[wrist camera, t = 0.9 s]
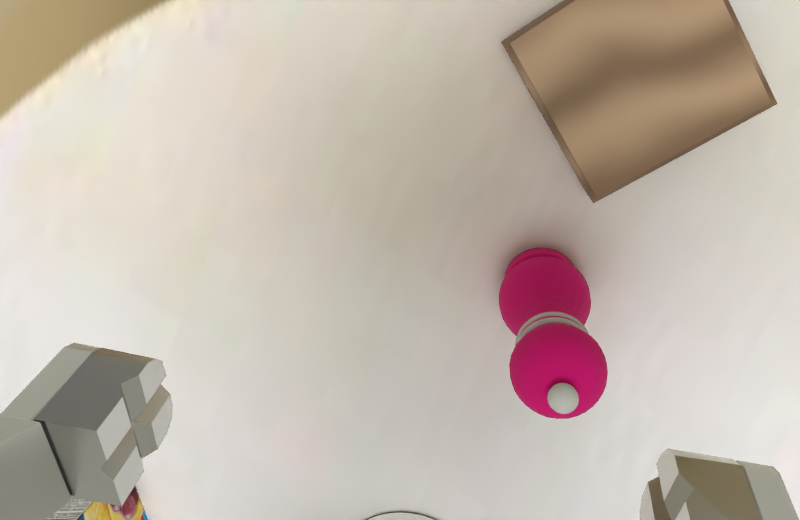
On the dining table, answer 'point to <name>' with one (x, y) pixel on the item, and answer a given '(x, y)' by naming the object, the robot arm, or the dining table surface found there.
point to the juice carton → (102, 510)
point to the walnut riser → (637, 82)
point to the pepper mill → (551, 335)
